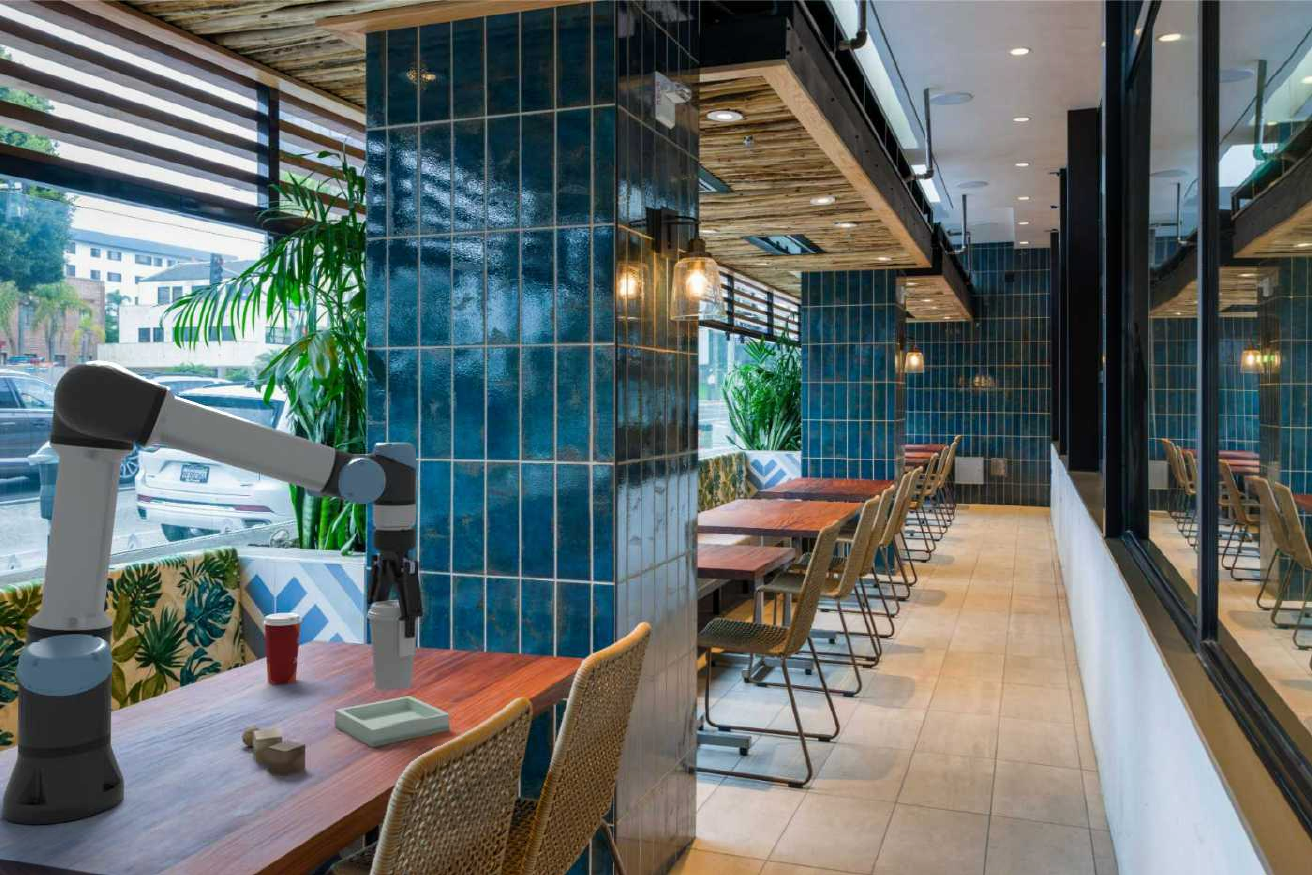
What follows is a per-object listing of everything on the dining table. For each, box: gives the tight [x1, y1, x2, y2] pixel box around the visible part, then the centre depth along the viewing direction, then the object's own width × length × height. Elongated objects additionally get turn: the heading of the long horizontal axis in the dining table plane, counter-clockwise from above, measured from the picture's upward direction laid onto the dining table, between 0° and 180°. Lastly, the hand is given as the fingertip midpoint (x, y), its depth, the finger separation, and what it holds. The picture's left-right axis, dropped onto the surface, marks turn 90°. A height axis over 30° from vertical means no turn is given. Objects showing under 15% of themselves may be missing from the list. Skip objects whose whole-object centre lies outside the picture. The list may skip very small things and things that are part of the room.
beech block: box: [252, 727, 283, 764], centre depth 166 cm, size 4×5×4 cm
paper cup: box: [263, 612, 303, 685], centre depth 213 cm, size 8×8×14 cm
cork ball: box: [241, 726, 261, 747], centre depth 171 cm, size 3×3×3 cm
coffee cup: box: [366, 599, 419, 691], centre depth 182 cm, size 10×10×15 cm
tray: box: [334, 695, 451, 748], centre depth 182 cm, size 15×15×3 cm
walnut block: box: [267, 739, 306, 777], centre depth 160 cm, size 4×4×4 cm
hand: (393, 649), depth 182 cm, fingers closed on coffee cup, 9 cm apart
